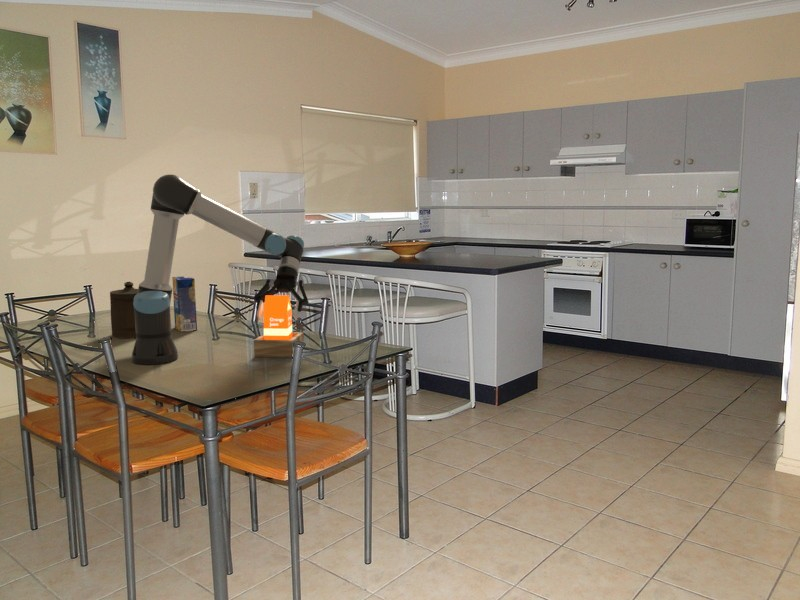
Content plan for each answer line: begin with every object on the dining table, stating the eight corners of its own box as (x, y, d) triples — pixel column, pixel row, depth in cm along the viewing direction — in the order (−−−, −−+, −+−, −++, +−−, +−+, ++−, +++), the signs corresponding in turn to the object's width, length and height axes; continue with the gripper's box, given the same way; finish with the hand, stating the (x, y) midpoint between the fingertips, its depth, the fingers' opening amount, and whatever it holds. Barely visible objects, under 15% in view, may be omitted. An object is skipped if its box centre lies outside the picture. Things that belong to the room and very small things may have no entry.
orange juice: (288, 352, 242) (286, 297, 239) (264, 351, 242) (262, 296, 239) (292, 347, 250) (291, 293, 247) (269, 346, 250) (267, 293, 247)
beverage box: (191, 326, 295) (188, 276, 291) (197, 330, 285) (194, 278, 282) (175, 327, 291) (172, 277, 288) (180, 332, 282) (177, 279, 278)
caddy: (292, 357, 238) (292, 341, 237) (254, 356, 240) (253, 340, 239) (304, 348, 253) (303, 332, 252) (268, 347, 254) (267, 331, 253)
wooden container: (156, 331, 284) (153, 279, 280) (142, 338, 269) (138, 284, 266) (121, 331, 284) (118, 279, 281) (105, 338, 270) (101, 284, 266)
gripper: (322, 278, 255) (312, 324, 243) (258, 277, 259) (246, 322, 246) (318, 265, 249) (308, 312, 237) (253, 264, 253) (240, 311, 240)
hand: (276, 317), depth 242 cm, fingers open, 13 cm apart
